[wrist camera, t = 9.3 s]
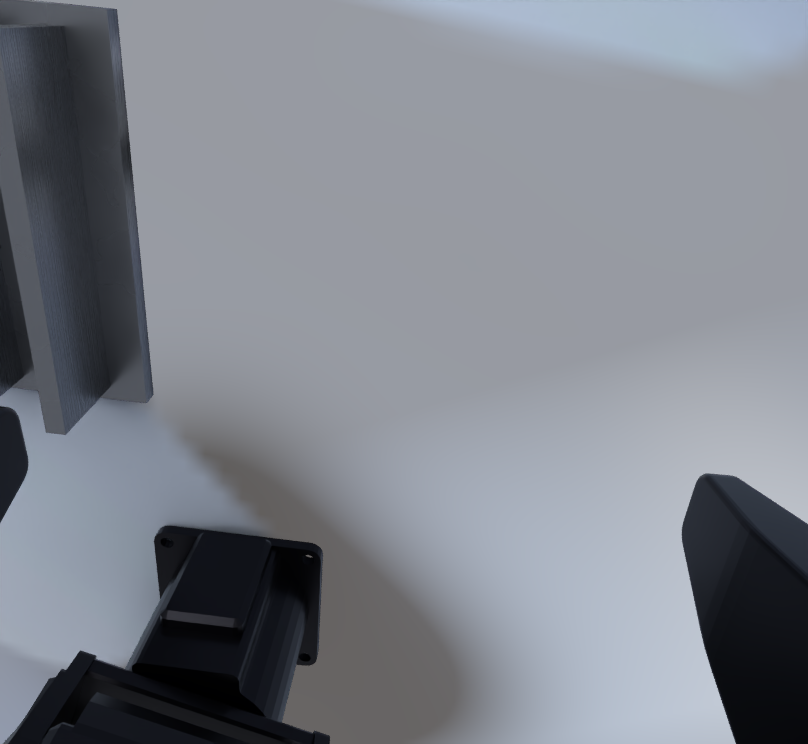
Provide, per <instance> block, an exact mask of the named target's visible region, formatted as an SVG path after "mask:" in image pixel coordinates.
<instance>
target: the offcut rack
mask: <svg viewBox="0 0 808 744" xmlns="http://www.w3.org/2000/svg"><path fill="white" fill-rule="evenodd" d="M11 387H12V388H20V389H29V390H38V392H39V397H40V403H41V408H42V413H43V419H44V424H45V430H46V433H54V434H63V435H66V434H67V433H68V432H69V431H70V430H71V428H72V427H73V426H74V425H75V424H76V423H77V422H78V421H79V420H80V419H81V418H82V417H83V416H84V415H85V413H86V412H87V411H88V410H89V409H90V408H91V407H92V406H93V405H94V404H95V403H96V402H97V401H98V399H99V398H106V399H114V400H123V401H131V402H140V403H147V402H148V401H149V400H150V398H151V397H152V396H153V385H152V375H151V365H150V353H149V343H148V332H147V322H146V312H145V301H144V290H143V279H142V270H141V258H140V248H139V238H138V227H137V217H136V206H135V196H134V185H133V174H132V164H131V154H130V142H129V132H128V121H127V111H126V101H125V90H124V79H123V70H122V58H121V48H120V37H119V27H118V16H117V9H111V8H101V7H91V6H82V5H72V4H63V3H53V2H43V1H34V0H33V1H32V0H0V396H1V395H3V394H4V393H5V392H6V391H7V390H8V389H10V388H11Z"/></svg>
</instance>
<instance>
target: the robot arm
mask: <svg viewBox="0 0 808 744" xmlns="http://www.w3.org/2000/svg"><path fill="white" fill-rule="evenodd" d="M27 470H28V456H27V451H26V447H25V442H24V438H23V434H22V429H21V425H20V420H19V417H18V415H17V413H16V412H15V411H14V410H13V409H11V408H9V407H1V406H0V522H1V521H2V519H3V517H4V515H5V513H6V511H7V510H8V508H9V506H10V504H11V502H12V501H13V499H14V497H15V495H16V493H17V492H18V490H19V488H20V486H21V484H22V482H23V481H24V479H25V476H26V474H27ZM167 538H169V539H171V540H172V541H171V540H168V539H167ZM682 542H683V547H684V552H685V557H686V562H687V567H688V571H689V576H690V581H691V586H692V591H693V596H694V601H695V606H696V610H697V615H698V620H699V625H700V630H701V634H702V638H703V642H704V647H705V650H706V654H707V656H708V660H709V663H710V667H711V669H712V673H713V676H714V679H715V682H716V685H717V688H718V691H719V694H720V697H721V700H722V703H723V706H724V709H725V712H726V715H727V718H728V721H729V724H730V727H731V730H732V733H733V736H734V739H735V742H736V744H808V524H807V523H805V522H804V521H802V520H801V519H799V518H798V517H796V516H795V515H793V514H792V513H790V512H789V511H787V510H786V509H784V508H783V507H781V506H779V505H778V504H777V503H775V502H774V501H772V500H771V499H769V498H767V497H766V496H765V495H763V494H761V493H760V492H758V491H757V490H755V489H754V488H752V487H751V486H749V485H748V484H746V483H745V482H743V481H742V480H740V479H739V478H737V477H734V476H730V475H718V474H704V475H702V476H700V477H699V479H698V480H697V482H696V485H695V488H694V491H693V494H692V497H691V500H690V503H689V506H688V509H687V512H686V516H685V518H684V522H683V527H682ZM154 544H155V554H156V563H157V572H158V582H159V591H160V601H159V603H158V605H157V607H156V609H155V611H154V613H153V615H152V617H151V619H150V621H149V623H148V625H147V627H146V629H145V631H144V632H143V634H142V636H141V638H140V640H139V642H138V644H137V646H136V648H135V650H134V652H133V654H132V656H131V658H130V660H129V662H128V664H127V666H126V668H125V669H124V668H121V667H118V666H115V665H112V664H109V663H106V662H103V661H100V660H97V659H96V656H95V655H92V654H89V653H86V652H83V651H80V652H79V653H78V654H77V656H76V657H75V659H74V660H73V661H72V663H71V664H70V666H69V667H68V668H67V670H64V669H61V671H60V672H59V673H58V675H57V676H56V677H55V678H50V679H49V680H48V682H47V683H46V685H45V686H44V688H43V690H42V691H41V693H40V695H39V696H38V698H37V699H36V701H35V702H34V704H33V706H32V707H31V709H30V710H29V712H28V714H27V715H26V717H25V718H24V719H23V721H22V722H21V724H20V725H19V726H18V727H17V729H16V730H15V731H14V732H13V733H12V734H11V735H10V737H9V738H8V739H7V740H6V741H5V742H4V743H3V744H329V743H330V736H329V735H326V734H323V733H320V732H317V731H314V732H313V733H311V732H308V731H305V730H302V729H299V728H296V727H293V726H290V725H288V724H285V723H282V719H283V715H284V711H285V706H286V703H287V699H288V695H289V691H290V687H291V683H292V679H293V675H294V671H295V667H296V664H297V665H312V664H314V663H315V662H316V659H317V655H318V648H319V626H320V624H319V623H320V605H321V583H322V561H323V553H322V550H321V548H320V547H319V546H317V545H316V544H313V543H308V542H299V541H291V540H283V539H275V538H266V537H258V536H250V535H242V534H233V533H225V532H217V531H209V530H200V529H192V528H184V527H176V526H164V527H162V528H160V530H159V531H158V533H157V534H156V536H155V539H154ZM305 555H310V556H312V557H311V558H310V557H307V556H305Z"/></svg>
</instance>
